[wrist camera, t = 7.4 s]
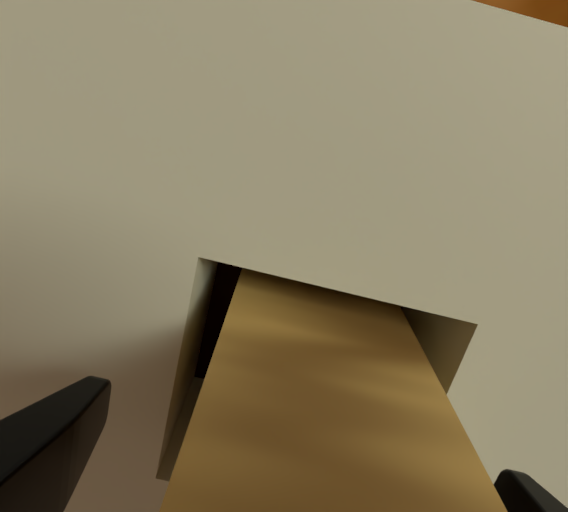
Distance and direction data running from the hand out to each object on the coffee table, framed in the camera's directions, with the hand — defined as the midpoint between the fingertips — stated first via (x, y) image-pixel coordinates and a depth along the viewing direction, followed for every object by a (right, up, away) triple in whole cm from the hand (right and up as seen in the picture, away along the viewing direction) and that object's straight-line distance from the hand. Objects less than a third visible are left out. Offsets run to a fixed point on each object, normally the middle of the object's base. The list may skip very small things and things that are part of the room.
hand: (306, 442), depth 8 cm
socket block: (0, +2, +5) cm, 5 cm away
